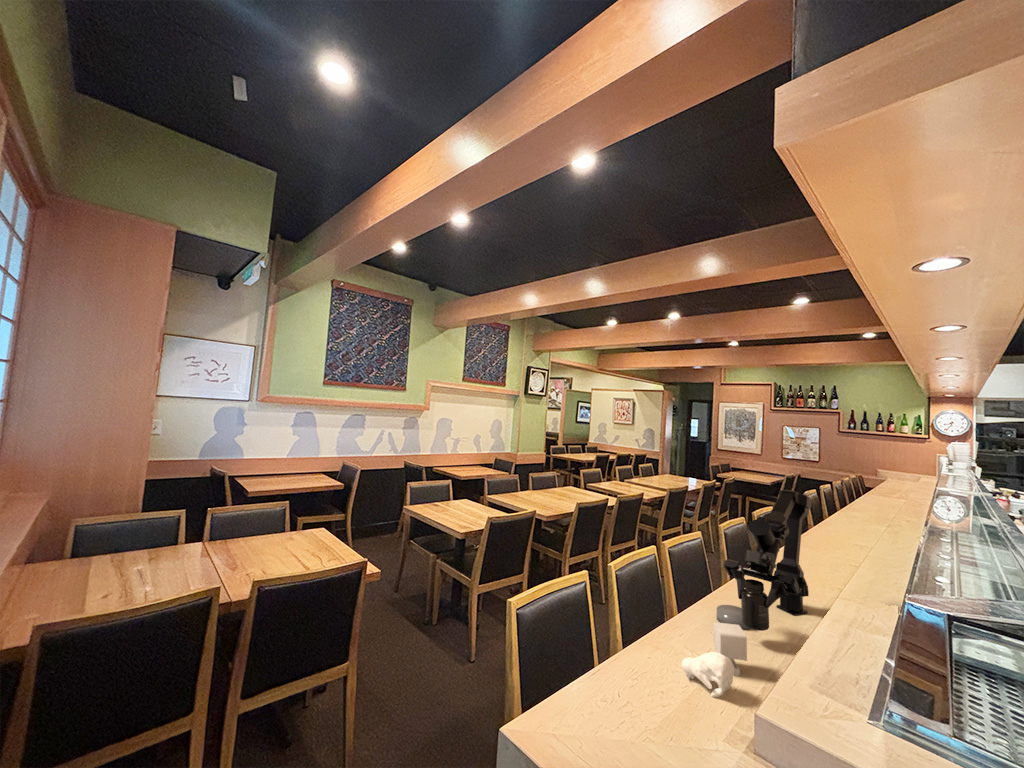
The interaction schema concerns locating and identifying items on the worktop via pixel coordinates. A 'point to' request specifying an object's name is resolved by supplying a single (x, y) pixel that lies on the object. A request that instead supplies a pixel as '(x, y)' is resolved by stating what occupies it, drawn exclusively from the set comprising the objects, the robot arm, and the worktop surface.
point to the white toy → (710, 671)
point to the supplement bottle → (754, 606)
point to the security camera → (730, 642)
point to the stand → (730, 615)
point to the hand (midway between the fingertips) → (752, 602)
